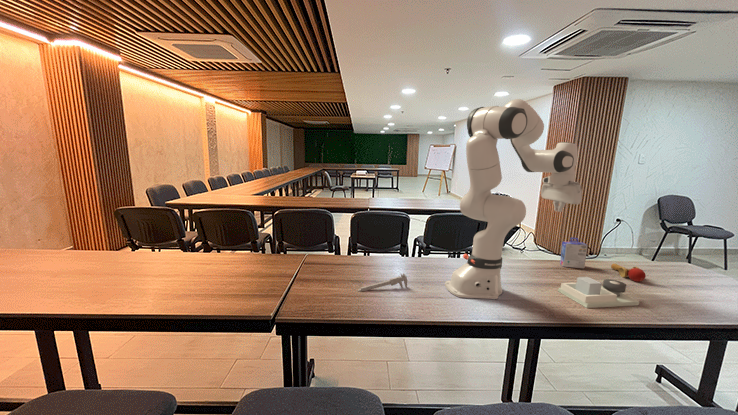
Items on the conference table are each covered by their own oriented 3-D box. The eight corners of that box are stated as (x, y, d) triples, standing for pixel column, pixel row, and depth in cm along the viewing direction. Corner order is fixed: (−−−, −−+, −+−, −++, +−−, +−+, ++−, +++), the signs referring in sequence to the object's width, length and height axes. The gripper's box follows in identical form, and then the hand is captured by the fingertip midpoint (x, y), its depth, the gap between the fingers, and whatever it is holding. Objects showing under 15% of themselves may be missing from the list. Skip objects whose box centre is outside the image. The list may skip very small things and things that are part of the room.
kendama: (603, 271, 154) (630, 280, 136) (607, 259, 154) (634, 266, 136) (619, 275, 153) (648, 285, 135) (623, 262, 153) (652, 271, 135)
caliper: (406, 287, 127) (406, 272, 126) (407, 288, 126) (407, 273, 125) (357, 290, 122) (357, 275, 121) (358, 292, 121) (358, 277, 120)
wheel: (614, 293, 117) (615, 286, 117) (598, 285, 124) (599, 279, 123) (630, 292, 118) (631, 286, 118) (613, 284, 125) (614, 278, 124)
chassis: (586, 307, 112) (588, 297, 111) (558, 291, 126) (559, 282, 125) (638, 305, 115) (640, 295, 115) (605, 289, 129) (606, 280, 128)
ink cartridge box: (580, 265, 158) (584, 237, 156) (585, 268, 153) (589, 240, 150) (558, 263, 160) (562, 236, 158) (563, 267, 155) (567, 239, 152)
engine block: (587, 298, 116) (590, 283, 115) (575, 291, 122) (577, 277, 121) (599, 298, 117) (601, 283, 116) (586, 291, 123) (588, 277, 122)
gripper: (588, 182, 125) (583, 215, 127) (552, 178, 145) (548, 207, 147) (574, 182, 124) (569, 215, 126) (540, 178, 144) (536, 207, 146)
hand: (558, 211), depth 137 cm, fingers closed
